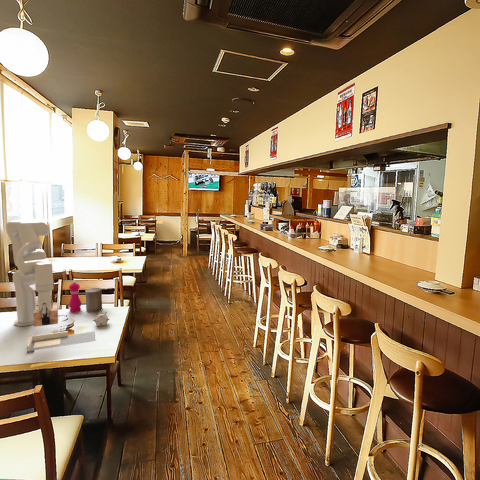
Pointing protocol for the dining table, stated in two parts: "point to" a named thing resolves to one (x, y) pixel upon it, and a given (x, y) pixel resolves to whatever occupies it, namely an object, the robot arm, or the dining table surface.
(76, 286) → the pepper mill
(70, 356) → the dining table surface
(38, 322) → the block
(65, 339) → the board
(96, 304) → the pillar candle
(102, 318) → the grey spiky ball
